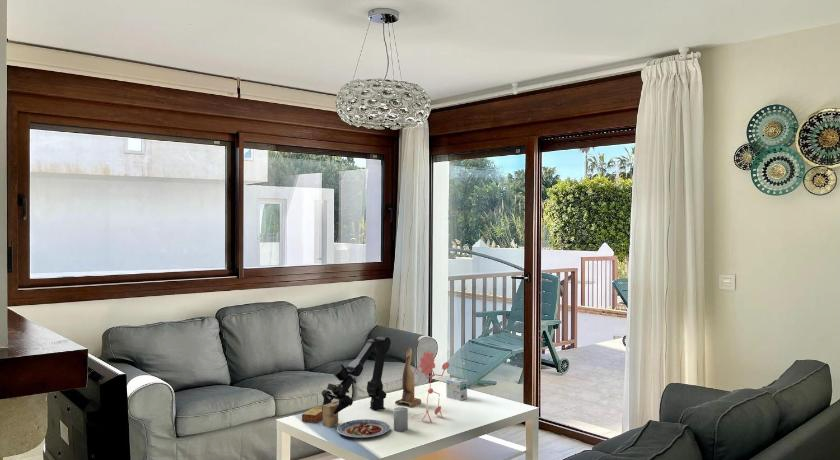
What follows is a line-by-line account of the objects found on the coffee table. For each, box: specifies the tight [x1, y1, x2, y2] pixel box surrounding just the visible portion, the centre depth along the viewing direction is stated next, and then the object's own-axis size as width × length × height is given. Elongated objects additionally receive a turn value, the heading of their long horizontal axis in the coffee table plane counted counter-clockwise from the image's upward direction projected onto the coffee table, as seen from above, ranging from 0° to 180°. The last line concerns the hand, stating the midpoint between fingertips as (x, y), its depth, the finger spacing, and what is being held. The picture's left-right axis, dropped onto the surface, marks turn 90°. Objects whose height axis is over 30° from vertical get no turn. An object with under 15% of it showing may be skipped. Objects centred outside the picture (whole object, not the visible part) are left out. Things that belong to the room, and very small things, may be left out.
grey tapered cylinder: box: [393, 406, 409, 433], centre depth 313 cm, size 7×7×10 cm
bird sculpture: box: [394, 347, 422, 408], centre depth 356 cm, size 11×12×32 cm
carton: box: [301, 405, 323, 424], centre depth 333 cm, size 8×16×4 cm, turn 162°
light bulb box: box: [445, 377, 468, 401], centre depth 367 cm, size 11×7×11 cm, turn 49°
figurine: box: [411, 350, 450, 423], centre depth 331 cm, size 15×26×35 cm, turn 139°
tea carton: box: [322, 402, 339, 428], centre depth 321 cm, size 6×5×10 cm
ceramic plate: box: [336, 418, 391, 439], centre depth 310 cm, size 26×26×3 cm
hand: (328, 412), depth 320 cm, fingers open, 9 cm apart
